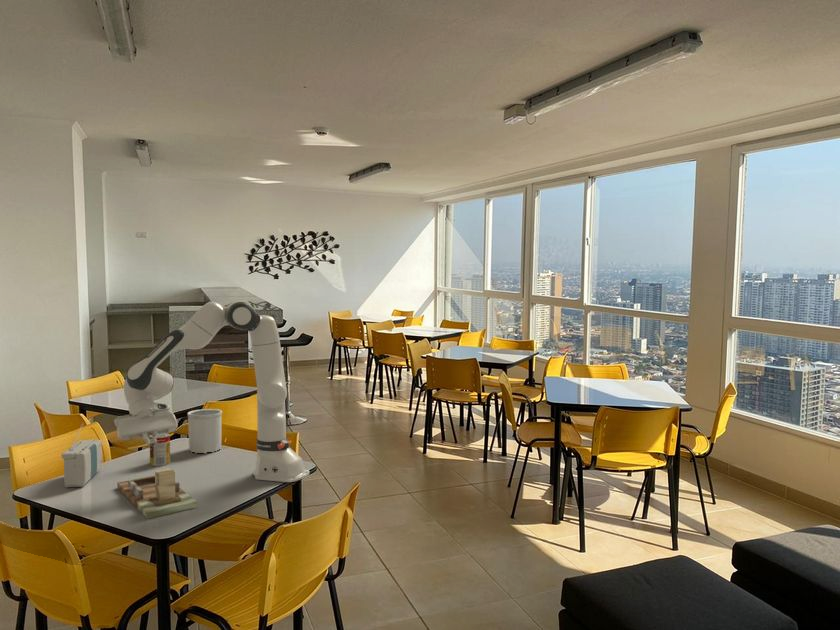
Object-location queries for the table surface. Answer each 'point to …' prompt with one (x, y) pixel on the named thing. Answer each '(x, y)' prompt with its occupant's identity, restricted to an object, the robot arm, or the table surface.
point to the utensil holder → (204, 430)
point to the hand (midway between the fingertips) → (152, 444)
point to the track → (145, 488)
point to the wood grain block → (164, 487)
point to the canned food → (160, 450)
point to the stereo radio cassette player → (82, 462)
